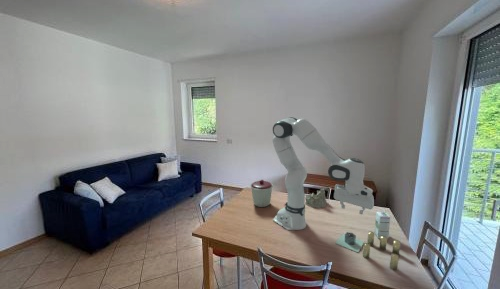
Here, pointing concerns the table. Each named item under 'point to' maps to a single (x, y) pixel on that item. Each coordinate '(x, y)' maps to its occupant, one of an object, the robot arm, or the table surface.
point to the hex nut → (350, 238)
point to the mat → (355, 247)
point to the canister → (261, 193)
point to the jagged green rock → (316, 199)
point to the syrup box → (382, 224)
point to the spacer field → (383, 247)
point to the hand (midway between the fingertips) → (351, 211)
